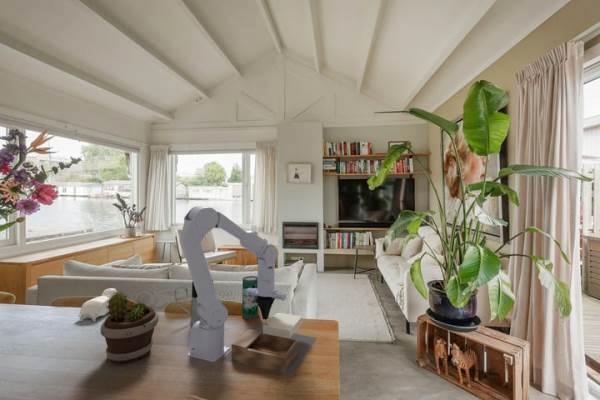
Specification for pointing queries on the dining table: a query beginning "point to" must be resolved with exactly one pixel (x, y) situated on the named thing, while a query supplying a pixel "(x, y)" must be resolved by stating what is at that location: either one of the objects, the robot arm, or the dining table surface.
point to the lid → (282, 325)
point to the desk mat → (303, 349)
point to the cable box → (265, 351)
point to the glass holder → (193, 314)
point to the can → (249, 298)
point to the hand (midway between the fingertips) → (265, 318)
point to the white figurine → (96, 305)
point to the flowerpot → (128, 329)
